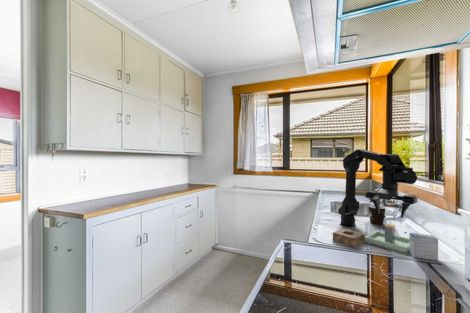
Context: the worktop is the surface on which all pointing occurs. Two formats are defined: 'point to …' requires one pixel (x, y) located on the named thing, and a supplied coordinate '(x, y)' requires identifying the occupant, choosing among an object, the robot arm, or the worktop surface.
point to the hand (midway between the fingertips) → (389, 215)
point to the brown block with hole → (348, 237)
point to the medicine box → (423, 246)
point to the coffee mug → (376, 215)
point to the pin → (390, 233)
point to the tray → (379, 240)
